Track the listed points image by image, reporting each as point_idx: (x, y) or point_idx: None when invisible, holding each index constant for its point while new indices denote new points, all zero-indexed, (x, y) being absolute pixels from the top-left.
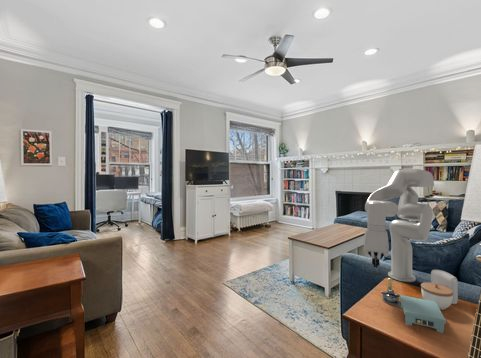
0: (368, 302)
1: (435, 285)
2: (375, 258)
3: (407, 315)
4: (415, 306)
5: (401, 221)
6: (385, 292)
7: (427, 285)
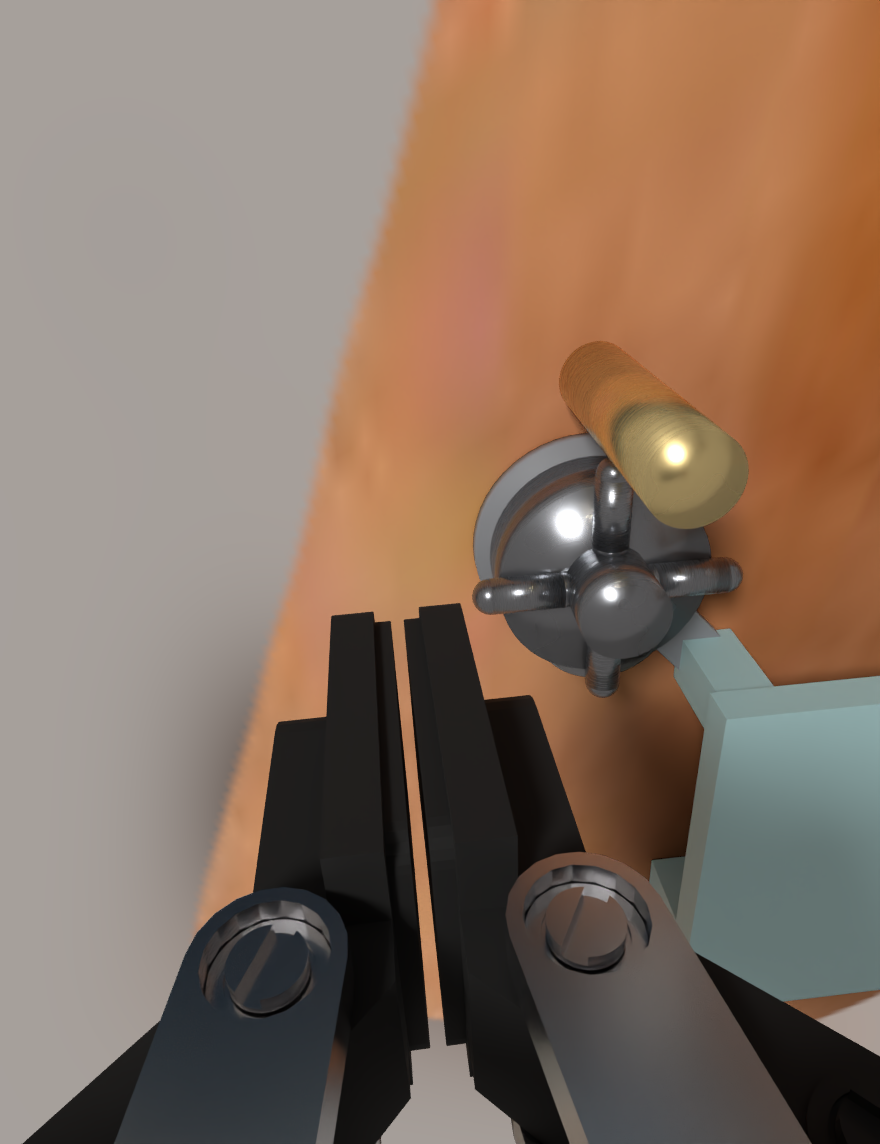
0: (320, 712)
1: None
2: (419, 974)
3: None
4: (819, 892)
5: None
6: (537, 607)
7: None
